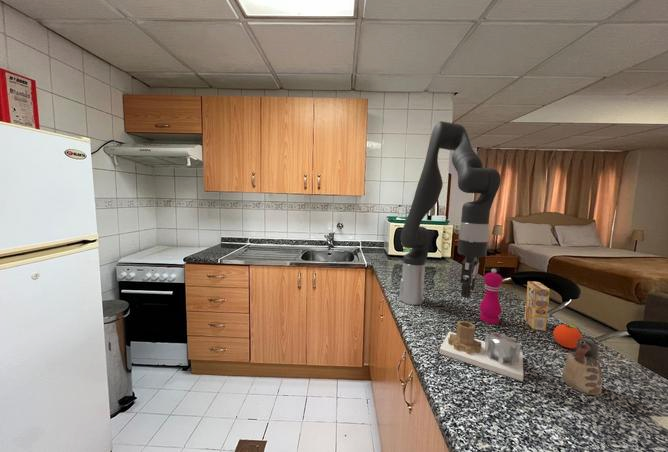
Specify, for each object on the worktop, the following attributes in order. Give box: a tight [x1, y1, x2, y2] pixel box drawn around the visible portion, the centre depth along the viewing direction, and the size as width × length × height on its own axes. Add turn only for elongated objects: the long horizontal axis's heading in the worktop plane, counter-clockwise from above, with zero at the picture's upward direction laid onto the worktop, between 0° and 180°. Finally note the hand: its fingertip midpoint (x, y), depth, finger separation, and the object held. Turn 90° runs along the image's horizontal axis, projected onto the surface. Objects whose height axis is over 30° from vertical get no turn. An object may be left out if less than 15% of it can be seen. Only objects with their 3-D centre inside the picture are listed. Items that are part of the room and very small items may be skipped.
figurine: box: [562, 337, 603, 396], centre depth 66 cm, size 7×7×12 cm
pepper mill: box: [479, 268, 503, 325], centre depth 101 cm, size 7×7×20 cm
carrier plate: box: [439, 331, 524, 382], centre depth 78 cm, size 20×13×7 cm, turn 56°
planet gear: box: [448, 320, 482, 354], centre depth 80 cm, size 9×9×6 cm
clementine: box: [553, 324, 583, 349], centre depth 84 cm, size 8×7×7 cm
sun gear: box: [485, 331, 522, 366], centre depth 75 cm, size 8×8×5 cm
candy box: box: [524, 280, 551, 332], centre depth 98 cm, size 9×4×15 cm, turn 162°
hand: (467, 293), depth 79 cm, fingers open, 8 cm apart
